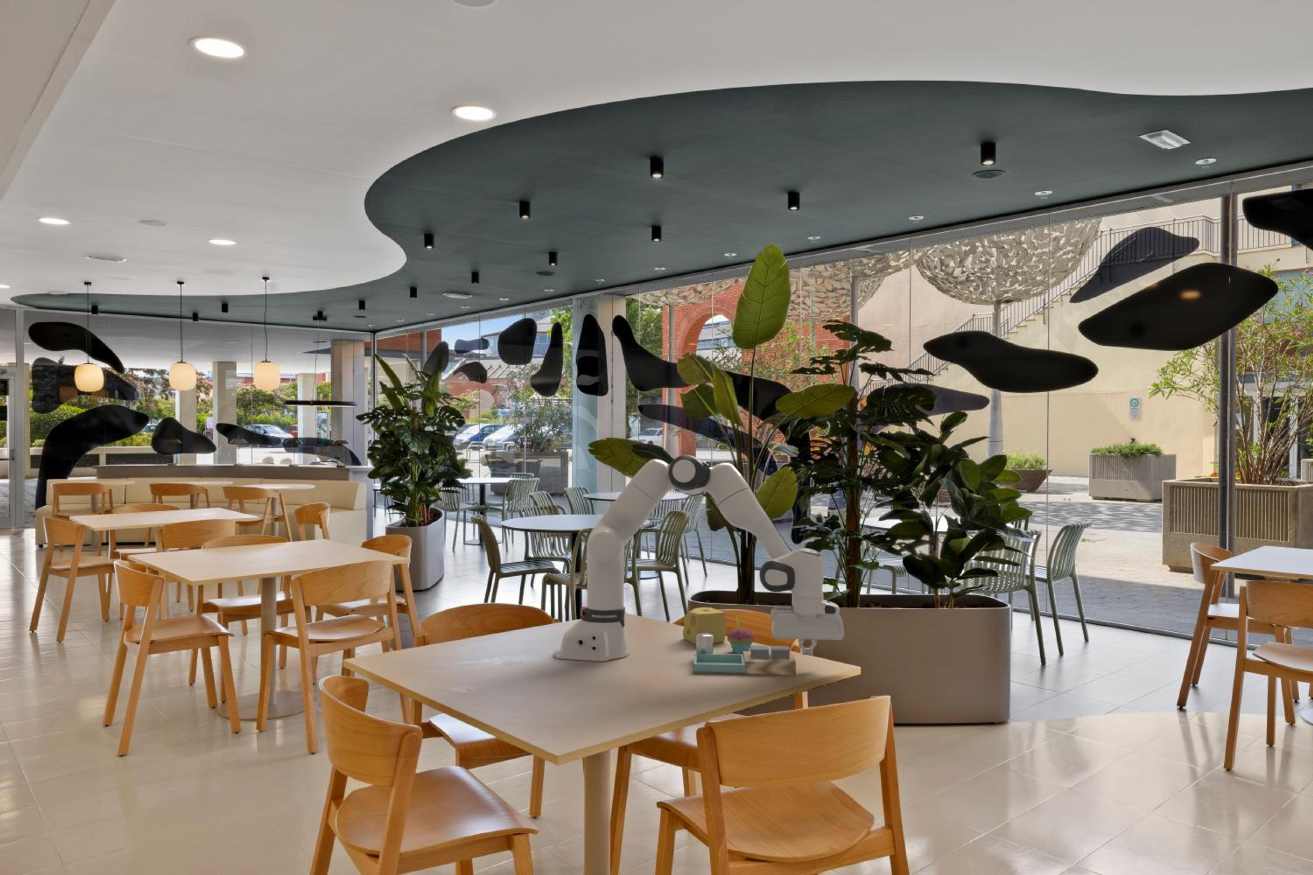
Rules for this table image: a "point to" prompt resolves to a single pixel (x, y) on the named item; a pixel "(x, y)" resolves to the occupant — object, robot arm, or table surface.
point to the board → (769, 665)
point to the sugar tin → (704, 643)
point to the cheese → (705, 624)
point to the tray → (719, 663)
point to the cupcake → (740, 639)
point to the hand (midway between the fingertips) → (807, 654)
